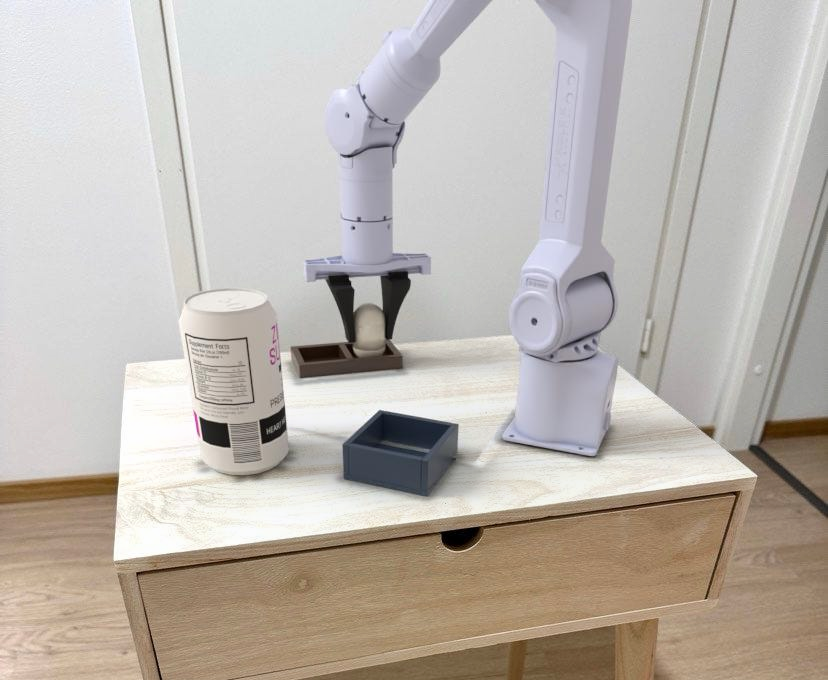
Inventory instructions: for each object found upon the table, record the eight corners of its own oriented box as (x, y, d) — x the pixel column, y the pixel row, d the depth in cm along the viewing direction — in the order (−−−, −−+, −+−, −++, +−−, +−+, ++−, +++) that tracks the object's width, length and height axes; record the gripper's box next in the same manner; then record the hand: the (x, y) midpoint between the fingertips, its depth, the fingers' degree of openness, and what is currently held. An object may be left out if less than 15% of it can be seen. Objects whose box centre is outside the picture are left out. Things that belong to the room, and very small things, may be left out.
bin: (457, 457, 73) (459, 423, 71) (427, 496, 67) (427, 461, 65) (379, 442, 75) (379, 409, 73) (343, 478, 69) (342, 444, 67)
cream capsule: (390, 358, 93) (390, 300, 89) (377, 369, 90) (376, 310, 86) (361, 353, 94) (360, 296, 90) (347, 364, 91) (345, 305, 87)
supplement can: (188, 453, 73) (160, 295, 64) (264, 432, 77) (248, 281, 68) (225, 487, 67) (200, 320, 59) (305, 462, 72) (292, 302, 63)
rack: (402, 373, 91) (402, 356, 90) (300, 382, 88) (298, 365, 87) (388, 354, 96) (388, 338, 95) (291, 363, 93) (290, 346, 92)
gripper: (419, 207, 88) (417, 323, 96) (295, 212, 84) (303, 332, 92) (437, 219, 82) (434, 341, 90) (305, 225, 79) (313, 352, 87)
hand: (369, 338), depth 91 cm, fingers closed on cream capsule, 4 cm apart
